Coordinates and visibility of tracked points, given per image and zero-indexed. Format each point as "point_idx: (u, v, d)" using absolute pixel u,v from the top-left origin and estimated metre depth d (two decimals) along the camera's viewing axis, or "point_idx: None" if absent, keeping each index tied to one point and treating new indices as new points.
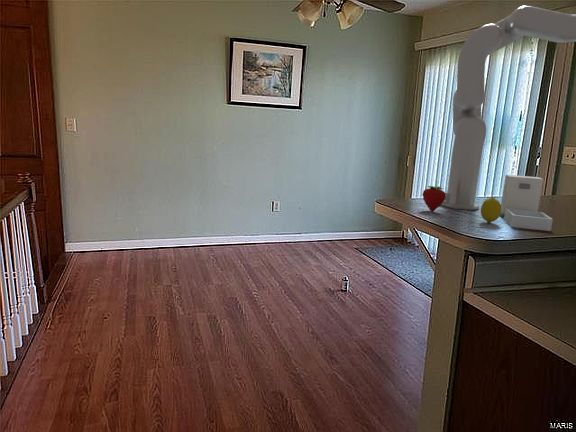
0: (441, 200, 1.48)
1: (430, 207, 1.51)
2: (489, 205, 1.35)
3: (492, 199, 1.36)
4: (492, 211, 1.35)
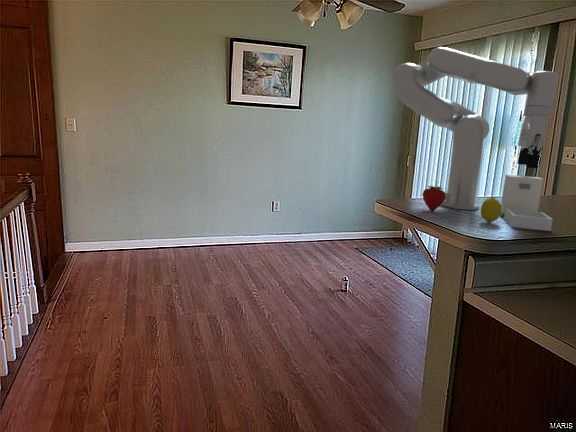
0: (441, 200, 1.48)
1: (430, 207, 1.51)
2: (489, 205, 1.35)
3: (492, 199, 1.36)
4: (492, 211, 1.35)
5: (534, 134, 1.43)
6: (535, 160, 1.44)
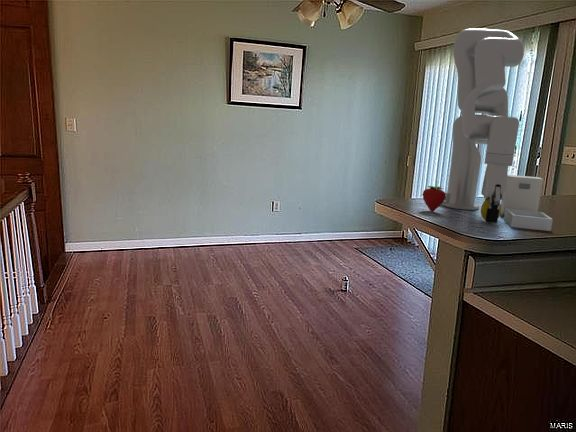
0: (441, 200, 1.48)
1: (430, 207, 1.51)
2: None
3: None
4: None
5: (494, 184, 1.31)
6: (494, 215, 1.34)
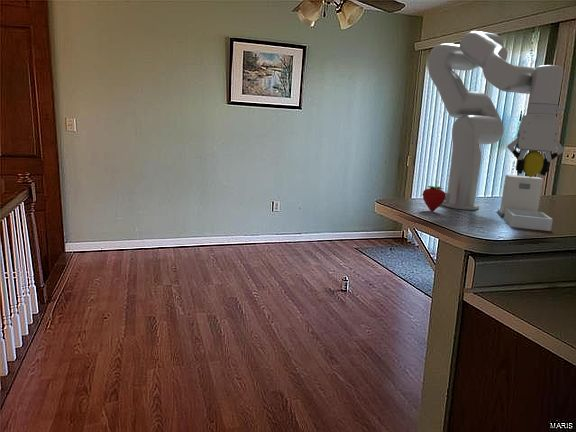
0: (441, 200, 1.48)
1: (430, 207, 1.51)
2: None
3: None
4: None
5: (517, 134, 1.35)
6: (517, 164, 1.35)
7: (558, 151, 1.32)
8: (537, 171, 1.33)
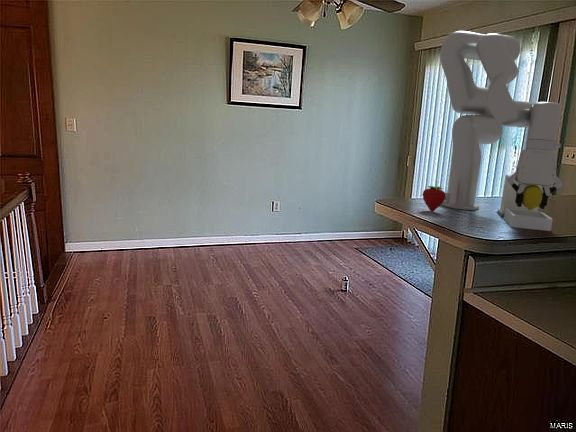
0: (441, 200, 1.48)
1: (430, 207, 1.51)
2: (523, 190, 1.38)
3: (529, 185, 1.37)
4: None
5: None
6: (516, 198, 1.38)
7: (557, 185, 1.34)
8: (536, 205, 1.35)
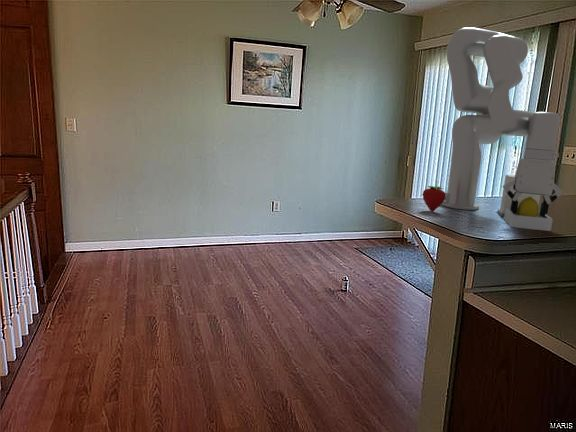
0: (441, 200, 1.48)
1: (430, 207, 1.51)
2: None
3: (526, 198, 1.38)
4: None
5: None
6: (511, 205, 1.39)
7: (557, 193, 1.35)
8: None
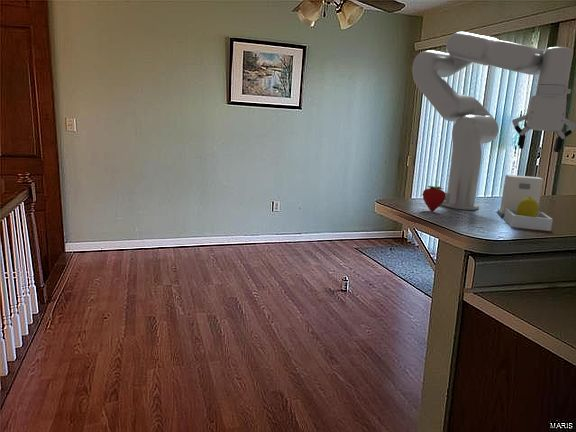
0: (441, 200, 1.48)
1: (430, 207, 1.51)
2: None
3: (525, 198, 1.38)
4: (517, 208, 1.39)
5: (526, 114, 1.40)
6: (519, 140, 1.41)
7: (571, 128, 1.36)
8: None
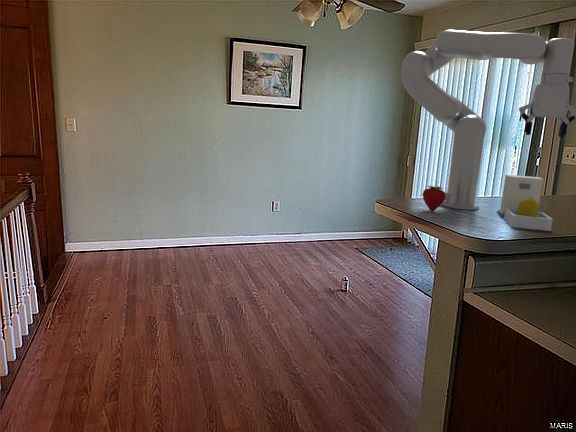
0: (441, 200, 1.48)
1: (430, 207, 1.51)
2: None
3: (526, 198, 1.38)
4: (517, 209, 1.39)
5: (531, 102, 1.48)
6: (526, 127, 1.49)
7: (574, 114, 1.44)
8: None
